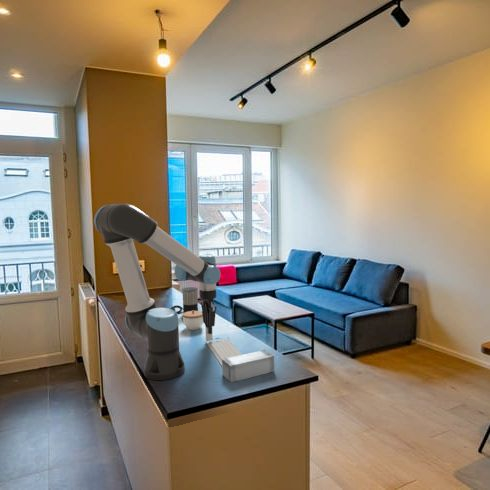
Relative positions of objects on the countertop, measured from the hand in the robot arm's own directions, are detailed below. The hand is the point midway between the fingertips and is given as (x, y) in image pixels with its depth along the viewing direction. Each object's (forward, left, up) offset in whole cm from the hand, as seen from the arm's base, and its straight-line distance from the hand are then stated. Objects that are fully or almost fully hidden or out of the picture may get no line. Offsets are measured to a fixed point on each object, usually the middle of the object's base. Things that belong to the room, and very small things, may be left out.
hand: (209, 339), depth 176 cm
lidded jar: (+1, +24, -2) cm, 24 cm away
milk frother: (+6, +54, -2) cm, 55 cm away
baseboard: (0, -17, -2) cm, 17 cm away
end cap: (0, -38, -1) cm, 38 cm away
